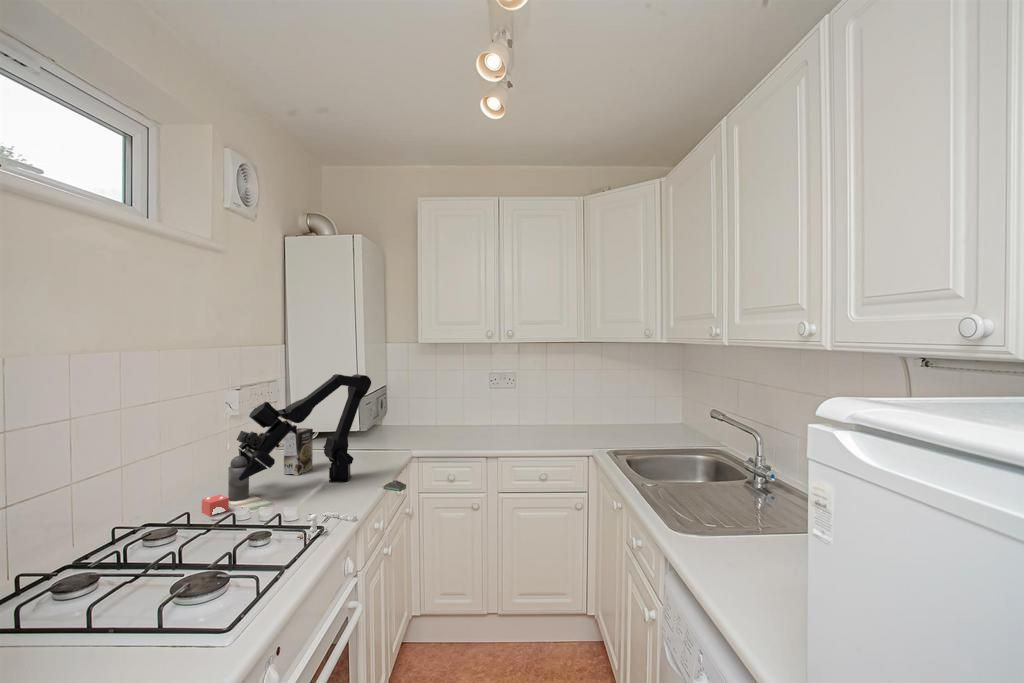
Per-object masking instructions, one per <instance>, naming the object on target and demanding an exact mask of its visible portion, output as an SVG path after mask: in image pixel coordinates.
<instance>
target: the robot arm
mask: <svg viewBox="0 0 1024 683" xmlns="http://www.w3.org/2000/svg"><path fill="white" fill-rule="evenodd" d="M341 386H344V387H347V400H346V402H345V405H344V407H343V410H342V413H341V415H340V418H339V420H338V424H337V427H336V430H335V432H334V434H333V435H332V436H331V437H329V436H326V437H327V438H326V441H325V444H324V446H323V447H322V448H323V454H324V456H325V457H327V458H328V460H329V462H330V467H329V468H328V469H329V470H328V473H329V474H328V479H329V480H328V482H329V483H347V482H348V481H349V480H350V479H351V478H352V477H353V475H351V465H352V464H353V462H354V457H353V456H352V455H351V454H349V453H348V450H349V435H350V431H351V429H352V426H353V423H354V420H355V418H356V415H357V412H358V409H359V406H360V403H361V401H362V399H363V398H364V397H366V394H367V393H368V391H369V390H370V388H371V386H372V380H371V378H370V377H369V376H368V375H364V374H354V375H353V374H352V375H350V376H349V375H343V374H341V373H339V374H337V373H335V374H333V375H332V376H330V378H329V379H328V380H326V381H324V383H322V384H321V385H320V386H318V387H317V388H316V389H315V390H313V391H312V392H311V393H310V394H308V395H307V396H306V397H304V398H302V399H298V400H295V401H294V402H293V403H290V404H288V405H287V406H286V407H285V408H282V409H276V408H274V407H273V406H272V404H271V403H270V402H268V401H264V402H263V403H261V404H260V405H258V406H256V407H254V409H253V410H252V411H251V412H250V413H249V416H248V418H250V419H251V420H253V421H254V422H255V423H256V424H258V425H259V426H260V427H261V428H263V429H264V428H268V429H267V430H266V431H265V432H260V433H259V434H258V433H257V432H253V431H250V432H247V431H244V430H240V433H239V434H238V436H237V438H236V441H238V442H239V443H240V445H238V456H243V457H245V458H246V459H247V464H248V466H247V467H246V469H245V470H244V471H243V473H242V474H241V475H240V477H239V478H238V479H239V480H240V481H242V480H244V479H246V478H248V477H249V478H250V477H252V476H254V475H256V474H258V473H260V472H262V471H265V470H268V468H269V469H271V468H272V467H273V466H274V465H275V464H276V463H275V461H276V460H275V458H273V456H271V453H272V452H273V451H274V450H275V448H280V446H281V445H280V443H281V442H282V441H283V440H284V438H285V437H286V435H287V434H288V433H289V432H292V433H294V434H297V429H298V428H297V425H295V424H301V423H302V422H303V423H304V421H305V420H306V419H307V418H308V417H309V416H310V415H311V413H312V411H313V410H314V408H315V407H317V405H319V404H320V403H321V402H322V401H324V400H325V399H326V398H327V397H329V396H330V395H332V393H334V392H335V391H337V389H339V388H340V387H341ZM280 418H281V419H284V420H283V421H282V420H281V419H280ZM290 422H292V423H294V424H293V425H292V424H291V423H290Z"/></svg>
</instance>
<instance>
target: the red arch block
mask: <svg viewBox="0 0 1024 683" xmlns="http://www.w3.org/2000/svg"><path fill="white" fill-rule="evenodd" d="M229 504H230V503H229V498H228V496H225V495H222V494H217V495H214V496H210V497H205V498H202V499H201V513H202V514H204V515H206V516H207V517H213V516H212V512H213V509H215V508H216V507H222V508H224V509H225V510H226V511H227V512H229V511H230V510H229V506H230V505H229Z"/></svg>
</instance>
